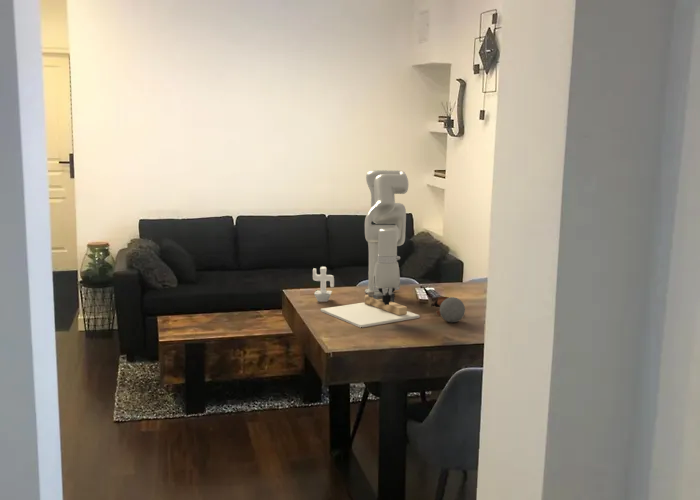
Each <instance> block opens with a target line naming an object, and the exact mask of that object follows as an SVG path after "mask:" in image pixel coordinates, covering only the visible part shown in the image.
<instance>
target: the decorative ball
mask: <svg viewBox="0 0 700 500" xmlns="http://www.w3.org/2000/svg"><path fill="white" fill-rule="evenodd" d="M439 310H440V314H441V318H442V319H443V320H444V321H446V322H448V323H457V322H459V321H460V320H462V319H463V318H464V316H465V313H466V308H465V304H464V303H463V301H462V300H461V299H459V298H457V297H453V296H452V297H451V296H450V297H449V298H447V299H445V300H444V301H443V302H442V303H441V305H440V307H439Z"/></svg>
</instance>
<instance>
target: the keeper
mask: <svg viewBox="0 0 700 500" xmlns="http://www.w3.org/2000/svg"><path fill="white" fill-rule="evenodd" d="M386 293H387V292H386ZM373 298H374V299H377V300H379V299H382V294H375V295H373ZM390 301H391V302H394V303H395V293H394V292H393V293H392V294H391V297H390Z"/></svg>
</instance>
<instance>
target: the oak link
mask: <svg viewBox="0 0 700 500" xmlns="http://www.w3.org/2000/svg"><path fill="white" fill-rule="evenodd" d="M373 295H374V291H368V294H365V295H364V302H365V304H367V305H372V306H374V307H377V308H380V309H383V310H386V311H388V312H391V313H394V314H397V315H404V314H407V311H408V306H405V305H402V304H399V303H397V302H395V301H394V302H391V301H390V302H389V305H385V304H384V302H382V299H379V300H377V299H374V298H373Z"/></svg>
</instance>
